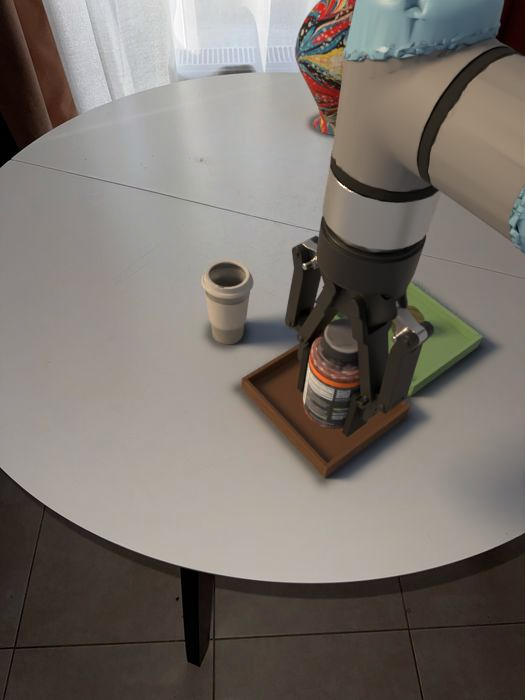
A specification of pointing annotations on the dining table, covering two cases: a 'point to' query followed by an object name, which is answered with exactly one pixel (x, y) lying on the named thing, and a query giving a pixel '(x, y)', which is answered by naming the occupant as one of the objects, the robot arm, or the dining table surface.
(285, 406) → the walnut tray
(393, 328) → the lime
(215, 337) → the cup
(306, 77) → the vase
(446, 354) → the green tray
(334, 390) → the supplement bottle
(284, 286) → the dining table surface
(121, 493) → the dining table surface
